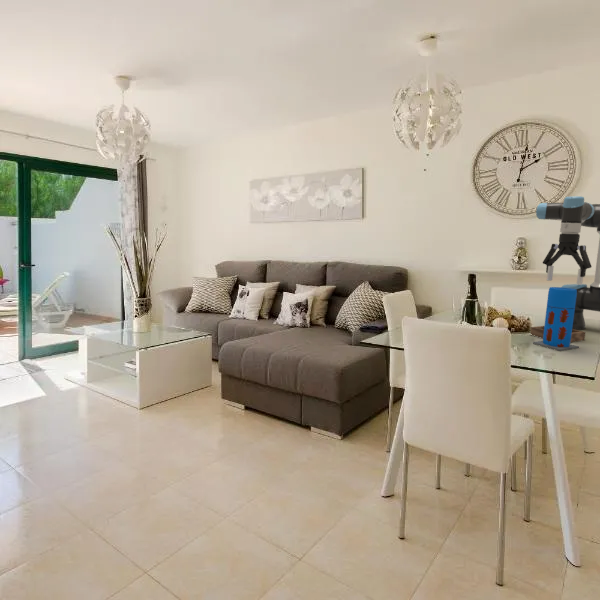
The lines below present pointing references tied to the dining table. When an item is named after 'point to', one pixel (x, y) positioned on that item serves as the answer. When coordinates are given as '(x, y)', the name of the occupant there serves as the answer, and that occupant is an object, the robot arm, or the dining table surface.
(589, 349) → the dining table surface
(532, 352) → the dining table surface
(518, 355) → the dining table surface
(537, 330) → the tray
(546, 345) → the mat
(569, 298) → the blue box
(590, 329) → the dining table surface
